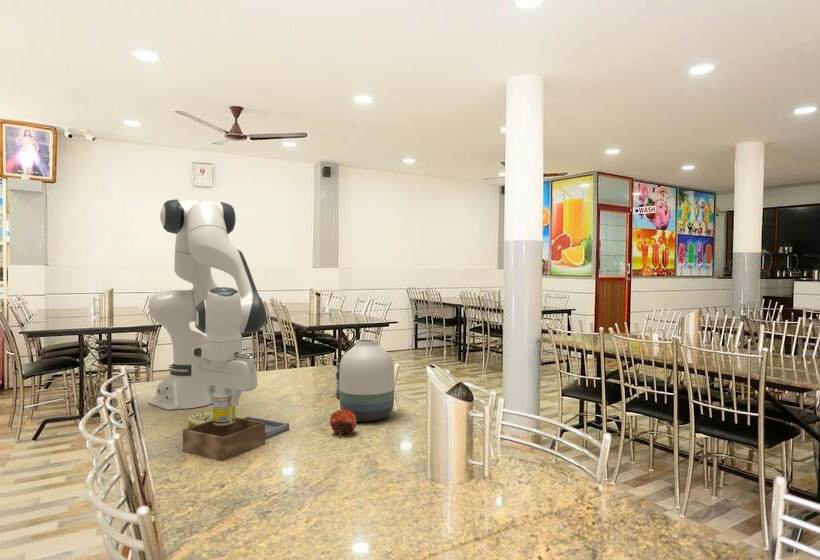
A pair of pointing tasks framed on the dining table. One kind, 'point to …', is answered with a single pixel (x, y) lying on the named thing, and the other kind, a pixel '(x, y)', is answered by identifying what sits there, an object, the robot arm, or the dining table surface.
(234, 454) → the box
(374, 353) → the vase
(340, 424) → the pomegranate
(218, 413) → the supplement bottle
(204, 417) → the decorated donut
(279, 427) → the tray
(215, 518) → the dining table surface
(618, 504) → the dining table surface
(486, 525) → the dining table surface
